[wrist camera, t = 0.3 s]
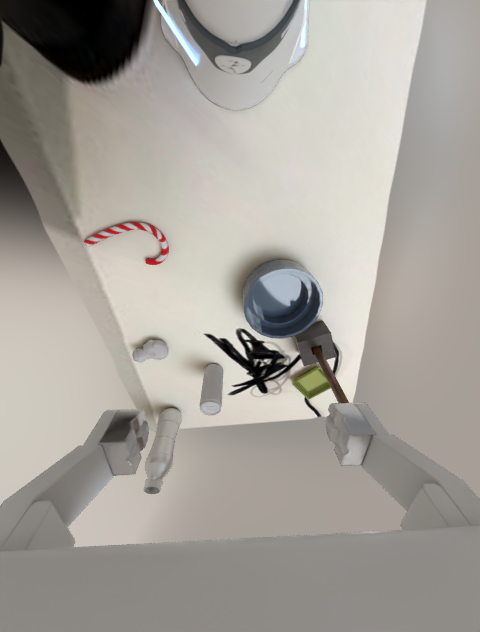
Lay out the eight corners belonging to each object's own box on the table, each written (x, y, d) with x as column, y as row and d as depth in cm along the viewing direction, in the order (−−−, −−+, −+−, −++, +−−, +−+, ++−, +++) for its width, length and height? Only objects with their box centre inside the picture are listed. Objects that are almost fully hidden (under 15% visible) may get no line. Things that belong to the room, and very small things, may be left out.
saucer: (317, 362, 59) (320, 367, 58) (333, 379, 63) (336, 385, 61) (290, 377, 62) (291, 383, 60) (306, 394, 66) (308, 400, 64)
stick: (307, 334, 55) (343, 404, 38) (314, 334, 55) (352, 404, 38) (306, 339, 56) (339, 410, 38) (312, 339, 56) (348, 410, 38)
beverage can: (222, 376, 61) (221, 416, 51) (204, 375, 61) (199, 415, 50) (223, 362, 58) (222, 401, 48) (204, 362, 58) (199, 401, 48)
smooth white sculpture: (167, 334, 55) (172, 354, 56) (135, 339, 55) (140, 358, 56) (162, 340, 51) (166, 361, 52) (126, 345, 51) (132, 366, 52)
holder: (291, 329, 54) (297, 342, 50) (322, 320, 53) (330, 332, 48) (298, 352, 58) (304, 366, 53) (327, 343, 56) (335, 357, 52)
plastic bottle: (156, 412, 68) (130, 491, 50) (169, 401, 65) (147, 480, 48) (173, 421, 70) (155, 499, 53) (187, 411, 68) (172, 489, 51)
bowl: (246, 255, 44) (248, 265, 39) (321, 261, 46) (332, 271, 40) (239, 321, 52) (240, 336, 47) (303, 324, 53) (311, 340, 48)
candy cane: (76, 224, 39) (162, 222, 40) (80, 223, 40) (164, 220, 41) (91, 267, 43) (170, 265, 44) (95, 265, 44) (172, 263, 45)
